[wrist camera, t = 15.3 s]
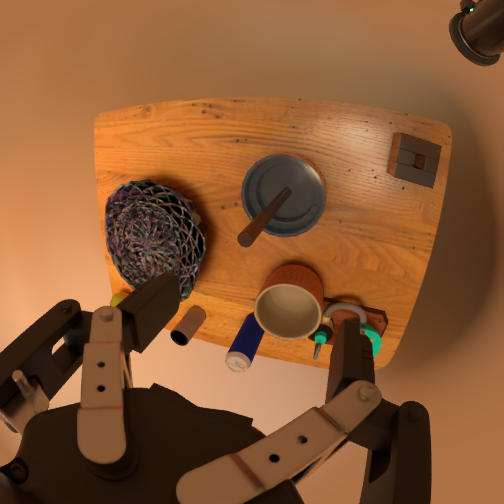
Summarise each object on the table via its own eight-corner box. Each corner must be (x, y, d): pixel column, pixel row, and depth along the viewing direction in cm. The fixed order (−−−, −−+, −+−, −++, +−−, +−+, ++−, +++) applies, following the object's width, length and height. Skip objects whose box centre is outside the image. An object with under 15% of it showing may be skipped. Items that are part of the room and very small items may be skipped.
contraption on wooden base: (316, 284, 58) (308, 329, 44) (396, 303, 54) (407, 350, 41) (301, 335, 64) (290, 382, 50) (373, 351, 60) (375, 399, 47)
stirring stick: (283, 186, 51) (238, 230, 28) (292, 188, 51) (253, 233, 28) (282, 194, 52) (236, 245, 29) (291, 196, 52) (251, 248, 29)
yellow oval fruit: (142, 310, 76) (122, 329, 67) (125, 308, 78) (104, 326, 69) (134, 288, 73) (112, 306, 64) (117, 287, 76) (95, 304, 67)
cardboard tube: (209, 314, 69) (190, 339, 60) (201, 324, 71) (183, 349, 62) (194, 302, 69) (174, 326, 60) (187, 313, 71) (167, 337, 62)
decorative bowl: (229, 183, 57) (209, 188, 48) (215, 301, 66) (198, 323, 57) (130, 169, 62) (102, 173, 53) (128, 274, 71) (105, 289, 62)
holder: (393, 133, 42) (401, 132, 37) (430, 144, 41) (441, 146, 36) (386, 172, 46) (393, 176, 40) (422, 183, 44) (432, 188, 39)
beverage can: (243, 323, 67) (220, 365, 54) (250, 308, 65) (228, 350, 51) (262, 333, 67) (244, 377, 53) (271, 318, 64) (253, 362, 51)
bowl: (255, 147, 51) (246, 148, 45) (332, 160, 48) (332, 163, 42) (247, 218, 57) (237, 227, 51) (318, 233, 54) (316, 245, 48)
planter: (337, 278, 56) (336, 308, 46) (304, 318, 62) (297, 350, 52) (286, 245, 56) (274, 270, 47) (257, 289, 62) (241, 318, 53)
